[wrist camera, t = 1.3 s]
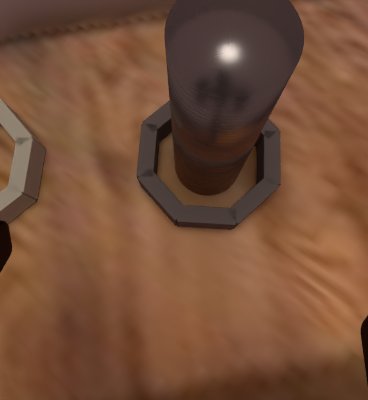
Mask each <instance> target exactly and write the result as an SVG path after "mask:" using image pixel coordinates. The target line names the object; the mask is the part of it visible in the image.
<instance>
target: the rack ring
mask: <svg viewBox="0 0 368 400" xmlns="http://www.w3.org/2000/svg"><path fill="white" fill-rule="evenodd" d="M0 125H2V126H3V127H4V128H5V130H6V131H7V132H8V133H9V134H10V136H11V137H12V138H13V139H14V140H15V142H16V146H15V151H14V156H13V162H12V167H11V173H10V178H9V183H8V186H7V187H6V188H4V189H3V190H2V191H0V220H3V221H5V222H7V224H8V223H10V222H11V221H12V220H13V219H15V218H16V217H17V216H19V215H20V214H21V213H22V212H24V211H25V210H26V209H27V208H29V207H30V206H31V205H32V204H34V203H35V202H36V200H35V199H38V194H39V188H40V182H41V175H42V169H43V163H44V157H45V151H46V150H45V147H44V146H43V145H42V144H41V143H40V142H39V140H38V139H37V138H36V137H35V136H34V134H33V133H32V132H31V131H30V130H29V129H28V127H27V126H26V125H25V124H24V123H23V121H22V120H21V119H20V118H19V117H18V115H17V114H16V113H15V112H14V111H13V110H12V109H11V108H10V107H9V106H8V105H7V104H6V103H5V102H3V101H2V100H1V99H0Z"/></svg>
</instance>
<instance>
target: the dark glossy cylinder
mask: <svg viewBox="0 0 368 400" xmlns="http://www.w3.org/2000/svg"><path fill="white" fill-rule="evenodd" d="M303 46H304V31H303V26H302V22H301V20H300V17H299V15H298V13H297V11H296V9H295V8H294V6H293V5H292V4H291V2H290V1H289V0H177V1H176V2H175V4H174V5H173V7H172V8H171V10H170V12H169V14H168V17H167V20H166V25H165V48H166V61H167V73H168V85H169V97H170V109H171V122H172V134H173V146H174V158H175V169H176V173H177V176H178V178H179V180H180V181H181V183H182V184H183V185H184V186H185V187H186V188H188V189H189V190H190V191H192V192H194V193H197V194H201V195H215V194H219V193H221V192H223V191H225V190H227V189H228V188H229V187H230V186H231V185H232V184H233V183H234V182H235V180H236V178H237V176H238V174H239V173H240V171H241V169H242V167H243V165H244V163H245V161H246V159H247V157H248V156H249V154H250V152H251V150H252V148H253V146H254V144H255V142H256V141H257V139H258V137H259V135H260V133H261V131H262V129H263V127H264V126H265V124H266V122H267V120H268V118H269V116H270V114H271V112H272V110H273V109H274V107H275V105H276V103H277V101H278V99H279V97H280V95H281V94H282V92H283V90H284V88H285V86H286V84H287V82H288V80H289V79H290V77H291V75H292V73H293V71H294V69H295V67H296V65H297V63H298V62H299V59H300V57H301V54H302V50H303Z"/></svg>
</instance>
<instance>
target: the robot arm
mask: <svg viewBox="0 0 368 400" xmlns="http://www.w3.org/2000/svg"><path fill="white" fill-rule="evenodd" d="M11 252H12V243H11V237H10V231H9V226H8V224H7V222H5V221H3V220H0V272H1V271H2V269H3V267H4V266H5V264H6V262H7V260H8V259H9V257H10V255H11ZM361 340H362V347H363V355H364V362H365V370H366V377H367V385H368V316H367V317H366V318H365V320H364V321H363V323H362V326H361Z"/></svg>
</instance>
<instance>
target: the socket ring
mask: <svg viewBox="0 0 368 400" xmlns="http://www.w3.org/2000/svg"><path fill="white" fill-rule="evenodd" d="M171 132H172V122H171V109H170V100H169V101H168V102H167V103H166V104H164V105H163V106H162V107H161V108H159V109H158V110H157V111H156V112H154V113H153V114H152V115H151V116H149V117H148V118H147V119H146V120H144V121H143V124H142V125H141V136H140V146H139V156H138V167H137V179H138V181H139V183H140V185H141V187H142V188H143V189H144V190H145V191H146V193H147V194H148V195H149V196H150V197H151V198H152V199H153V200H154V202H155V203H156V204H157V205H158V206H159V207H160V208H161V209H162V211H163V212H164V213H165V214H166V215H167V216H168V217H169V218H170V220H171V221H172V222H173V223H174V224H175V225H177V226H180V227H197V228H214V229H230V230H231V229H232V228H233V229H234V228H235V227H236V226H237V225H238V224H239V223H240V222H241V221H242V220H243V219H245V218H246V217H247V216H248V215H249V214H250V213H251V212H252V211H253V210H254V209H256V208H257V207H258V206H259V205H260V204H261V203H262V202H263V201H264V200H265V199H267V198H268V197H269V196H270V195H271V194H272V193H273V192H274V191H275V190H276V189H277V188H278V187H279V185H280V131H279V129H278V128H277V127H276V126H275V125H274V124H273V123H272V122H271V121H270V120H269V119H268V120H267V122H266V124H265V126H264V127H263V129H262V131H261V133H260V135H259V137H258V139H257V141H256V142H255V145H256V146H257V147H258V148H257V185H256V186H255V187H254V188H252V189H251V190H250V191H249V192H248V193H247V194H246V195H245V196H244V197H242V198H241V199H240V200H239V201H238V202H237V203H236V204H235V205H233V206H232V207H231V208H221V207H204V206H187V205H183V204H182V203H181V202H180V201H179V200H178V198H177V197H176V196H175V195H174V194H173V193H172V192H171V191H170V190H169V189H168V187H167V186H166V185H165V184H164V183H163V182H162V181H161V180H160V179H159V177H158V176H157V162H158V150H159V142H160V141H161V140H162V139H163V138H165V137H166V136H167V135H168V134H169V133H171Z"/></svg>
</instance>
